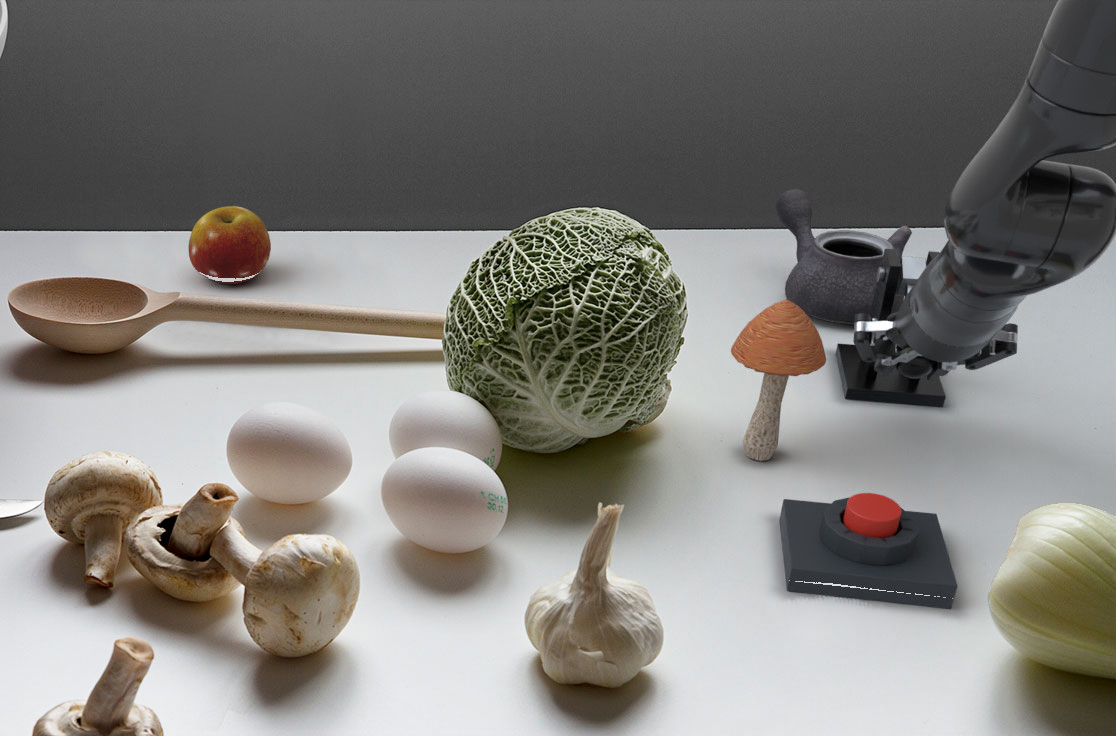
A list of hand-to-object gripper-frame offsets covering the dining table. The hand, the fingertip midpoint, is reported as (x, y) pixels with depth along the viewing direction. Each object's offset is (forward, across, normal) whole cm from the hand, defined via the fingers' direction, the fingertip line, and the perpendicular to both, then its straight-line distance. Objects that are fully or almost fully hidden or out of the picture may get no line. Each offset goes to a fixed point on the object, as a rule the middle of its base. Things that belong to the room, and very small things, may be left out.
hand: (907, 368), depth 120 cm
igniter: (-17, +6, +19) cm, 27 cm away
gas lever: (+1, 0, -4) cm, 4 cm away
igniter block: (-15, +6, +22) cm, 27 cm away
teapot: (+23, +4, -16) cm, 28 cm away
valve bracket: (+8, 0, -2) cm, 9 cm away
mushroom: (-3, +13, +10) cm, 17 cm away
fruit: (+18, +72, -11) cm, 75 cm away
